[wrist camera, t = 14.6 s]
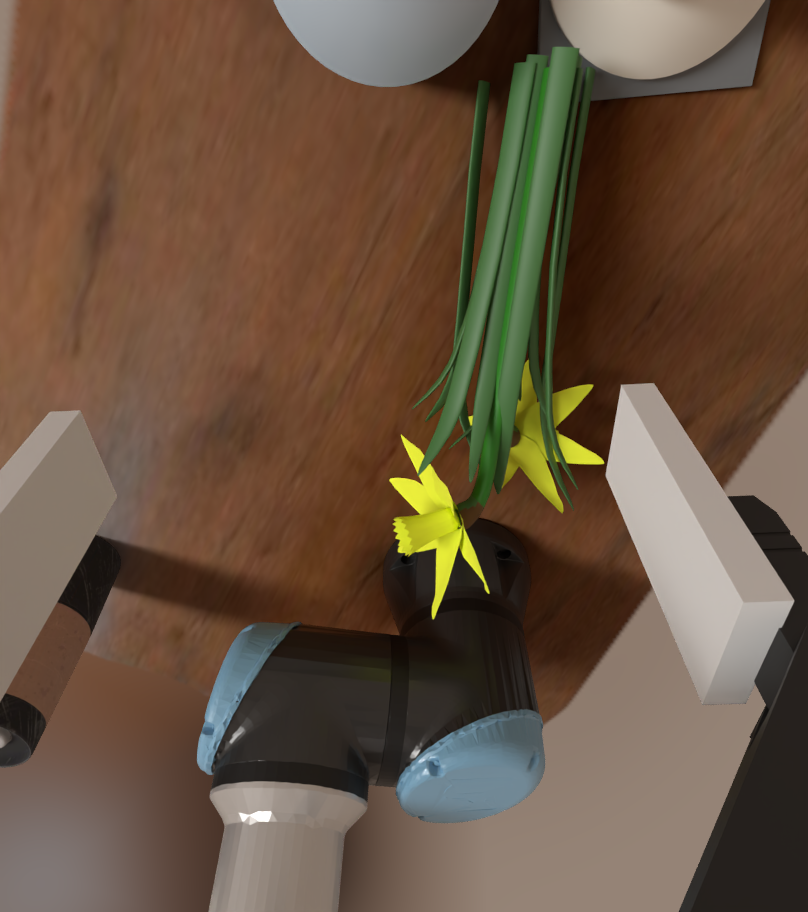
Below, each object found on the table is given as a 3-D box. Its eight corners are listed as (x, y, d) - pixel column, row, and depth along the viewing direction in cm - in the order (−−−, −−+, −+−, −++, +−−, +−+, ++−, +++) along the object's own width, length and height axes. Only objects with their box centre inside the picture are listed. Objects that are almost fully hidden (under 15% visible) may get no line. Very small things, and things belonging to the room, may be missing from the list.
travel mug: (92, 521, 62) (-17, 709, 46) (138, 570, 66) (54, 759, 50) (30, 540, 63) (-96, 729, 47) (79, 588, 68) (-21, 775, 52)
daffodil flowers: (710, 88, 39) (589, 561, 53) (494, 83, 45) (437, 506, 59) (664, 15, 25) (517, 678, 39) (364, 22, 32) (329, 590, 46)
